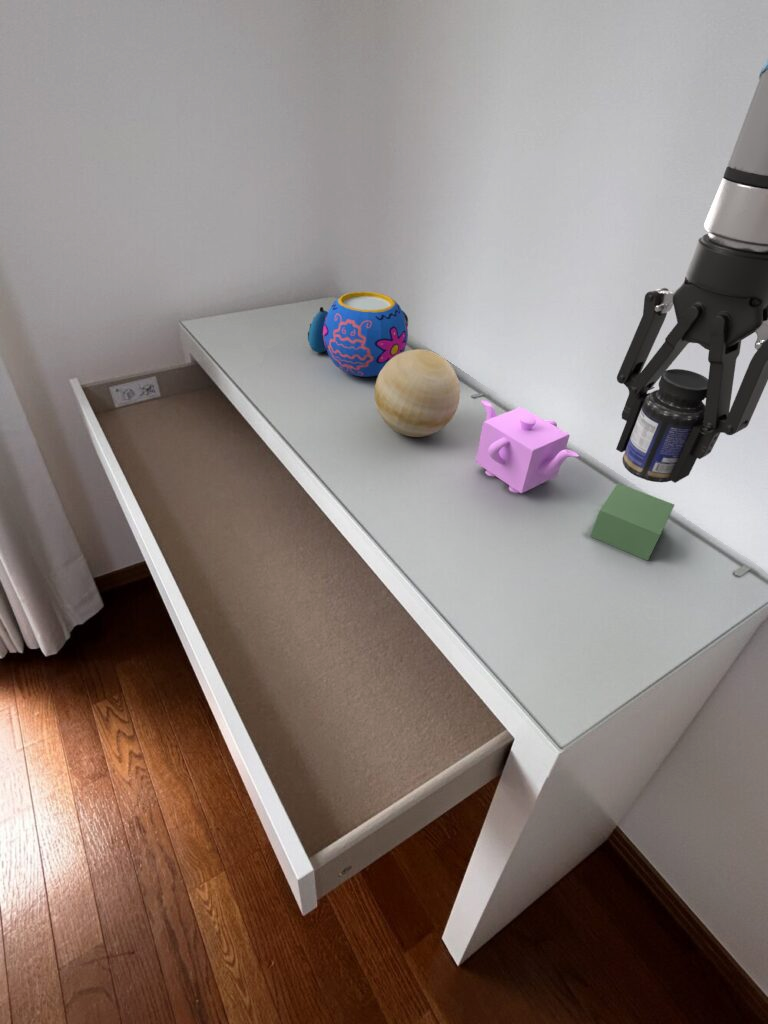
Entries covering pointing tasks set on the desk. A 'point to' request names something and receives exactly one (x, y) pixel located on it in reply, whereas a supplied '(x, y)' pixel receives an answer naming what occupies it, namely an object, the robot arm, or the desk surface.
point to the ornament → (317, 332)
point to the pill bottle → (665, 425)
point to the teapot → (521, 448)
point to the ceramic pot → (364, 332)
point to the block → (631, 521)
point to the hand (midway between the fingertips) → (651, 461)
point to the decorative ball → (417, 393)
